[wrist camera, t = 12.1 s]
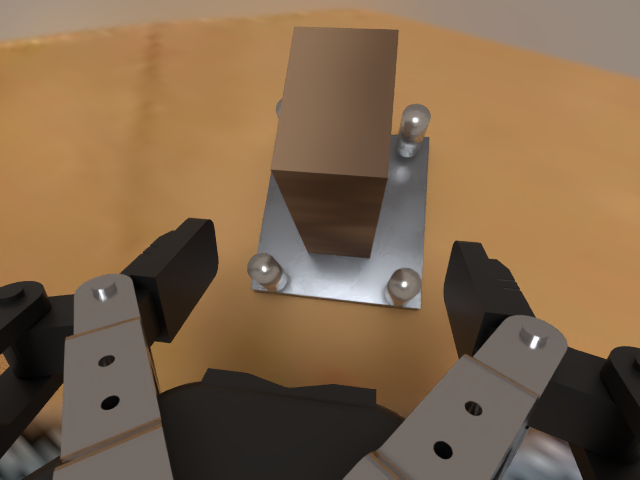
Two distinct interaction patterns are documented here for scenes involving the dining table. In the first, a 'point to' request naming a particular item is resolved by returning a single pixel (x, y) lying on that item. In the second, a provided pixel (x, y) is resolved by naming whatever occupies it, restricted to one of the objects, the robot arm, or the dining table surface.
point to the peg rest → (388, 247)
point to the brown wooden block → (336, 135)
